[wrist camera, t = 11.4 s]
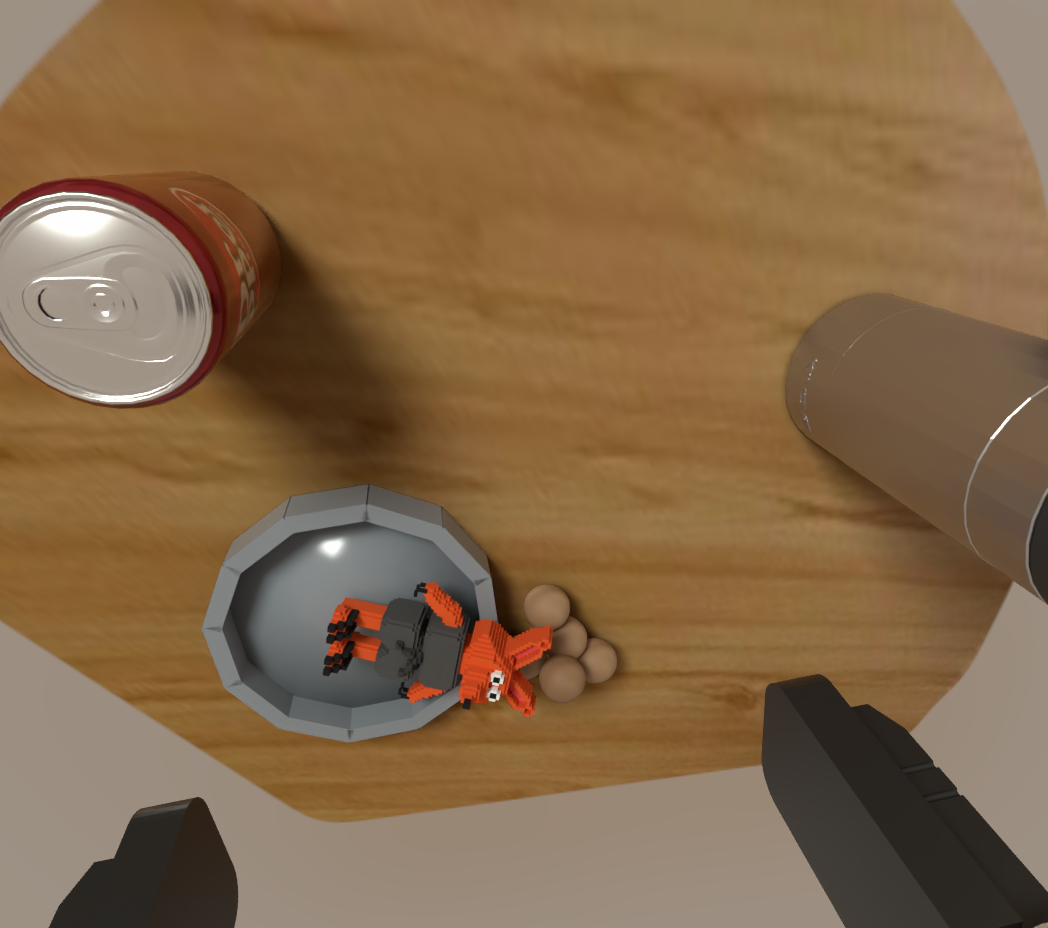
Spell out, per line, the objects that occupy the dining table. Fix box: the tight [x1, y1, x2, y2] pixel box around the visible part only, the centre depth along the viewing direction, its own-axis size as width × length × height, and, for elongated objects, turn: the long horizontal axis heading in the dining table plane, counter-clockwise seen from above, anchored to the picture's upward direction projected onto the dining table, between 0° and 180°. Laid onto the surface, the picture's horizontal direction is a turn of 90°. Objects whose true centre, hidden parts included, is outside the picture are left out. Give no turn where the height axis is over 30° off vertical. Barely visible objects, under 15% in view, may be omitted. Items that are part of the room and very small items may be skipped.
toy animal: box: [323, 582, 553, 717], centre depth 38 cm, size 8×6×12 cm
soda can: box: [0, 171, 282, 409], centre depth 27 cm, size 7×7×12 cm
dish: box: [202, 484, 498, 742], centre depth 40 cm, size 16×16×2 cm
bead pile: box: [511, 584, 617, 703], centre depth 42 cm, size 7×8×5 cm
